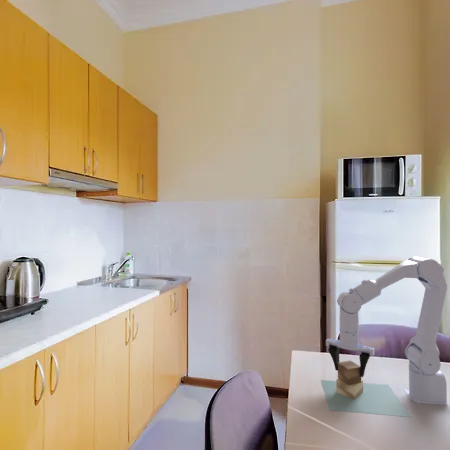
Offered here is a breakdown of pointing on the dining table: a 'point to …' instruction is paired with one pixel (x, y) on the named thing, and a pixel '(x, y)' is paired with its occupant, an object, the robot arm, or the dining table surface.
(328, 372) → the dining table surface
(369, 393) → the mat
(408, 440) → the dining table surface
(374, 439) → the dining table surface
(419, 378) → the robot arm
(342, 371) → the walnut cube
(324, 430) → the dining table surface
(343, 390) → the maple block
